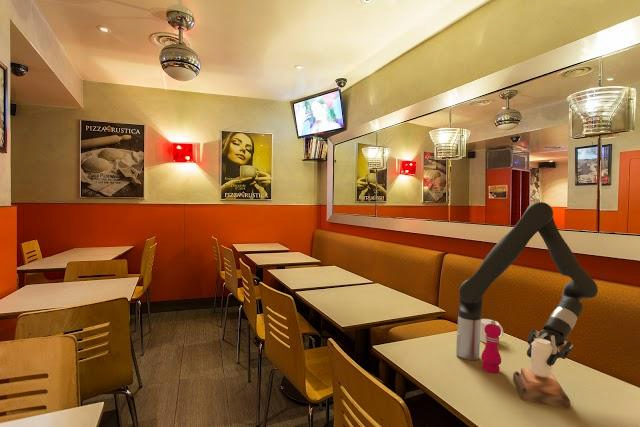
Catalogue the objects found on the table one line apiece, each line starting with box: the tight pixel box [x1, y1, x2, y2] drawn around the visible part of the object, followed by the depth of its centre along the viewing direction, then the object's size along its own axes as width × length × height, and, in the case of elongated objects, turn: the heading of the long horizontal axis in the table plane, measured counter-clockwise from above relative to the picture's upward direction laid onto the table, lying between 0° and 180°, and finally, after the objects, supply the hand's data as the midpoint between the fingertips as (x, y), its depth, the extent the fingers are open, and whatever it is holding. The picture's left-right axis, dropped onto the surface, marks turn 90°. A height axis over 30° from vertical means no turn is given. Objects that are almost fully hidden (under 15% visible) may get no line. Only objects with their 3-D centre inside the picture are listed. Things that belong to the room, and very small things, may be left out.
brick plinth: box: [512, 367, 571, 410], centre depth 121 cm, size 14×14×6 cm
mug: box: [480, 318, 504, 344], centre depth 169 cm, size 12×9×9 cm
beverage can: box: [530, 337, 553, 377], centre depth 121 cm, size 6×6×12 cm
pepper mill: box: [480, 319, 502, 374], centre depth 138 cm, size 7×7×20 cm
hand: (538, 360), depth 120 cm, fingers closed on beverage can, 6 cm apart
